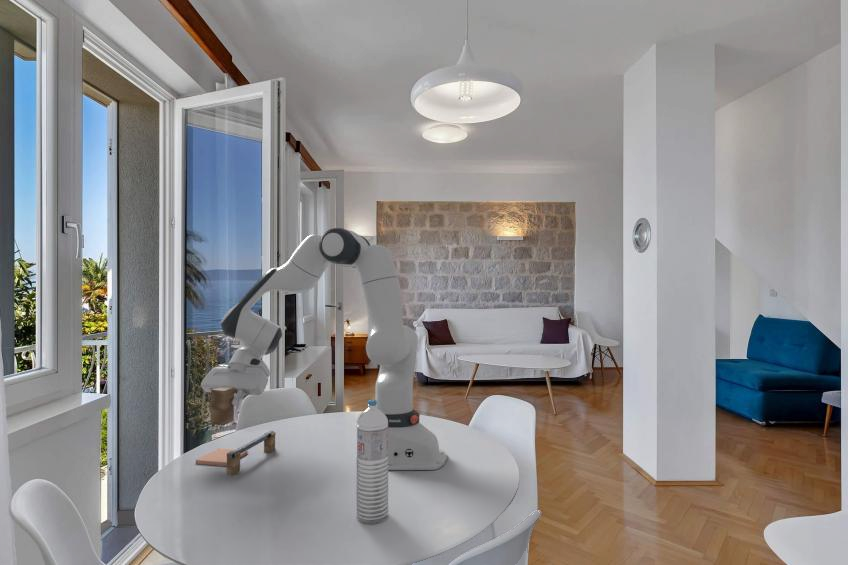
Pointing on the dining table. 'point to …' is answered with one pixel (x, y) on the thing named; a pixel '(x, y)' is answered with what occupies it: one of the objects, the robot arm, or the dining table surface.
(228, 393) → the walnut block
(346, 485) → the dining table surface
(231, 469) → the hurdle posts
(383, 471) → the water bottle
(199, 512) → the dining table surface
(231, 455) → the metal bar
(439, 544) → the dining table surface
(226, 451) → the coaster
